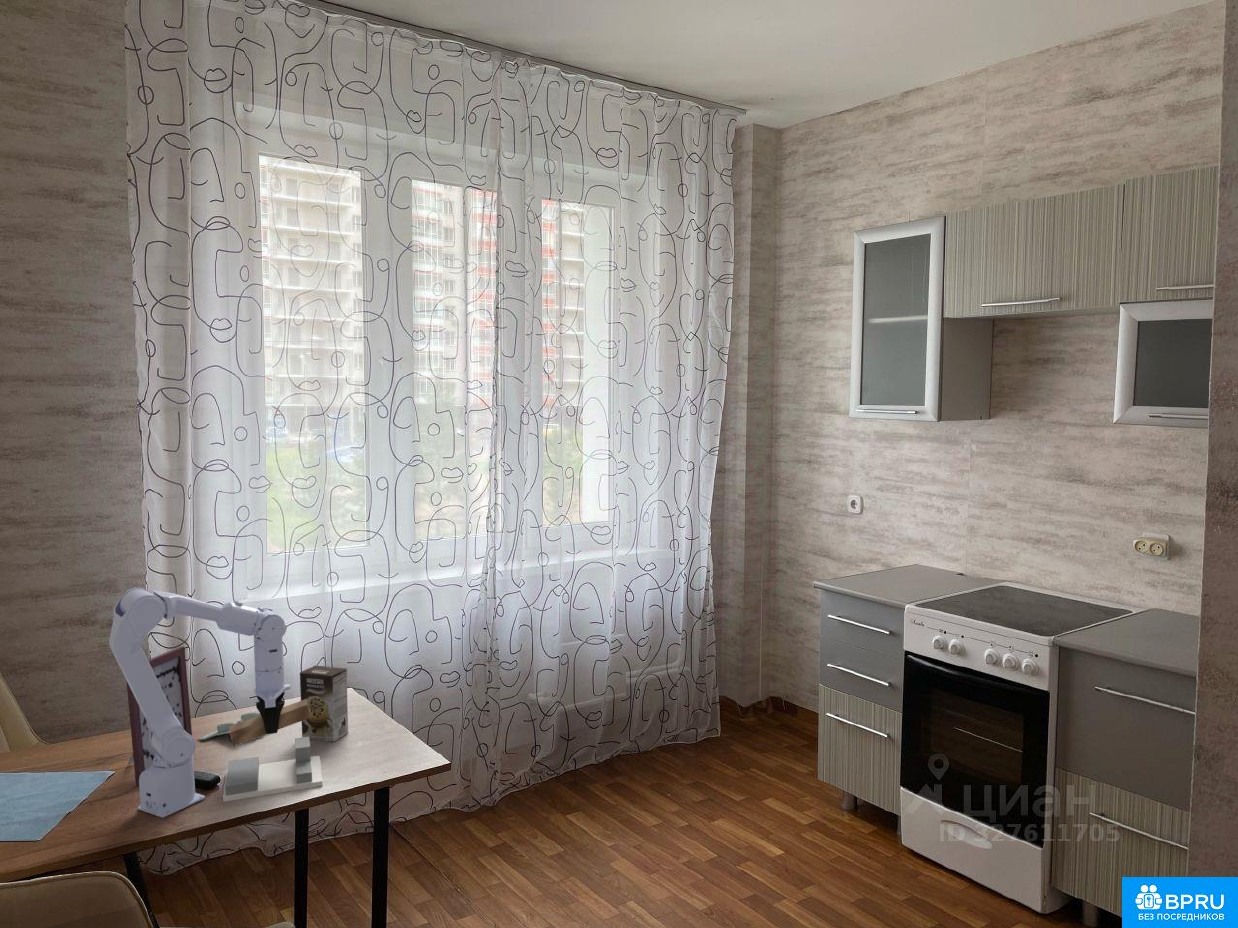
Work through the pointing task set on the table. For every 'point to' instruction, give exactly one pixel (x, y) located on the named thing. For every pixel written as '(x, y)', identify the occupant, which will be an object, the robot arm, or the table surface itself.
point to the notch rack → (273, 774)
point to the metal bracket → (226, 727)
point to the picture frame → (175, 688)
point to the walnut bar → (256, 725)
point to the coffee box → (325, 702)
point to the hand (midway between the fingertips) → (271, 729)
